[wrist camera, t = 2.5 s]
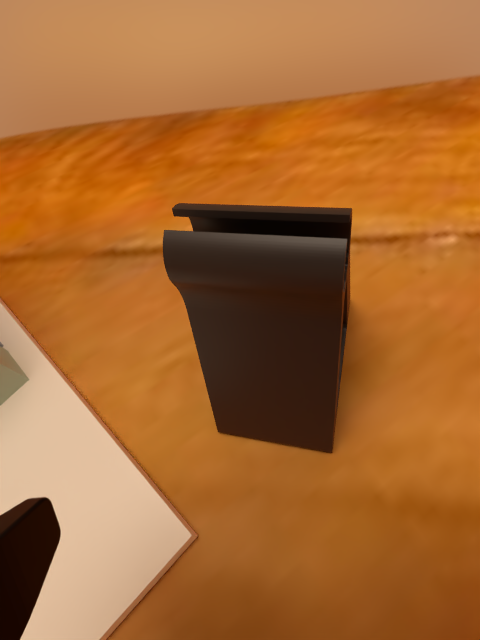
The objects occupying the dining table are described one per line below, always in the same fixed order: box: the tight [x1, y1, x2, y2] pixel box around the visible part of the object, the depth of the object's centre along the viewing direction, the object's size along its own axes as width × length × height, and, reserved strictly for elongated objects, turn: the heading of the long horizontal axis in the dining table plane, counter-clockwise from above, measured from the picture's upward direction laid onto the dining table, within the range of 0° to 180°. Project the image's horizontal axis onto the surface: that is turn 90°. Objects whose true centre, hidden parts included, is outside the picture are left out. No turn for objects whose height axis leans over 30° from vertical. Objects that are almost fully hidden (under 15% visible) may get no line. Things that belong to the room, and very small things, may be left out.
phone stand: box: [163, 203, 352, 453], centre depth 19 cm, size 9×6×12 cm, turn 167°
